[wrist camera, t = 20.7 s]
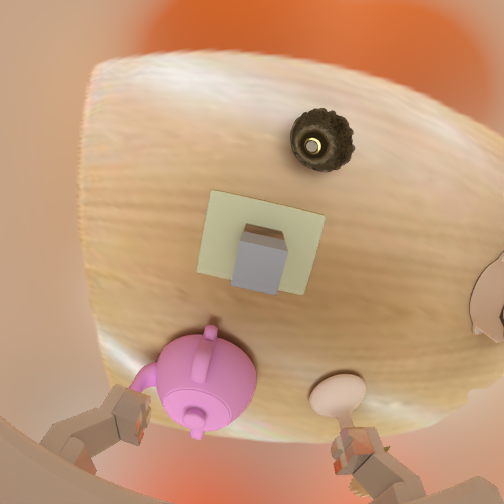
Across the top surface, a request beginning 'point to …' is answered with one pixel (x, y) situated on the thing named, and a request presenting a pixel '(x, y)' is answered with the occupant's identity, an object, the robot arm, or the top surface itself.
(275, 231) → the walnut block
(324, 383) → the flower in vase
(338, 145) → the dark brown round piece
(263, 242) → the slate block
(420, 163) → the top surface
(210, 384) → the teapot
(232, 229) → the base plate
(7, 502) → the robot arm
